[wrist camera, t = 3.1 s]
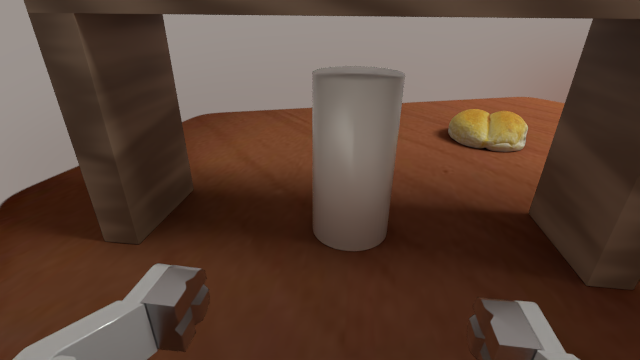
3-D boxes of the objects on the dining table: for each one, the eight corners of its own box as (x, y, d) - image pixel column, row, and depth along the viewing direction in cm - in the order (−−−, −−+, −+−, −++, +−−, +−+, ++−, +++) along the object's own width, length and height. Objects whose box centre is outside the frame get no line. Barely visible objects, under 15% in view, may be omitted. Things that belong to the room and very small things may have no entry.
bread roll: (453, 127, 48) (459, 99, 46) (525, 139, 44) (534, 108, 42) (439, 144, 42) (444, 112, 40) (521, 159, 37) (531, 124, 36)
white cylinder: (385, 211, 27) (400, 67, 22) (388, 254, 22) (409, 82, 17) (317, 206, 27) (318, 65, 23) (307, 247, 23) (305, 79, 18)
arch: (562, 215, 26) (657, -31, 19) (633, 290, 19) (827, -57, 12) (167, 187, 30) (120, -28, 23) (104, 241, 23) (7, -48, 16)
